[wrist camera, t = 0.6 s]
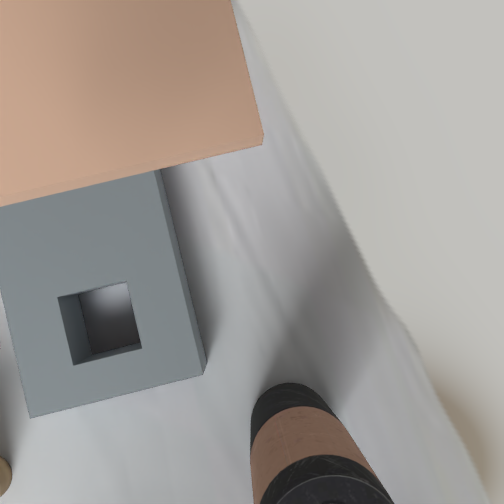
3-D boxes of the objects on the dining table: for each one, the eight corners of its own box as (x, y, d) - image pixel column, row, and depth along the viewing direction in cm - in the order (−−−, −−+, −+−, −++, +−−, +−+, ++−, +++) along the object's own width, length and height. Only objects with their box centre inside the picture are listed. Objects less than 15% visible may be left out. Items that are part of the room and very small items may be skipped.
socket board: (207, 362, 44) (203, 374, 39) (54, 401, 43) (29, 418, 38) (155, 148, 44) (144, 133, 39) (3, 184, 44) (-27, 173, 39)
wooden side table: (249, 210, 44) (263, 134, 19) (-55, 283, 43) (-450, 302, 18) (211, 56, 45) (178, -210, 20) (-91, 125, 44) (-525, -65, 19)
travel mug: (279, 362, 44) (315, 440, 24) (348, 411, 44) (441, 529, 24) (231, 432, 43) (225, 571, 23) (300, 481, 43) (353, 662, 23)
